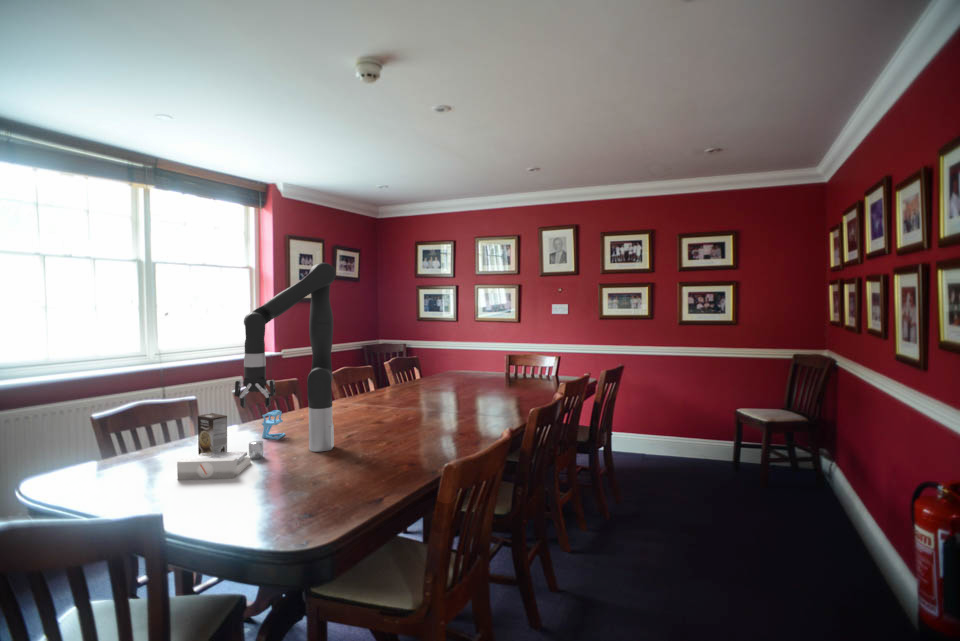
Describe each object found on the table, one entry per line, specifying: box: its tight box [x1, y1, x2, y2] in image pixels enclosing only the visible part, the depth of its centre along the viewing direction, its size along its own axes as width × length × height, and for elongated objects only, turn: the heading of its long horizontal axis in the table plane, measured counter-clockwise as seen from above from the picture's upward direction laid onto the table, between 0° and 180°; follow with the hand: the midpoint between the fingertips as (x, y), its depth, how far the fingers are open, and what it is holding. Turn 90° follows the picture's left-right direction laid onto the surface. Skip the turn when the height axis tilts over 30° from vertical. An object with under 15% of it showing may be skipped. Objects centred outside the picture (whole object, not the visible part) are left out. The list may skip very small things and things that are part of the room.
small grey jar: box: [248, 440, 264, 461], centre depth 190 cm, size 5×5×6 cm
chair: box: [261, 409, 286, 441], centre depth 220 cm, size 8×8×12 cm
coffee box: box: [197, 412, 228, 455], centre depth 191 cm, size 9×6×16 cm
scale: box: [176, 455, 252, 481], centre depth 175 cm, size 18×16×6 cm
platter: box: [192, 451, 248, 463], centre depth 177 cm, size 16×11×1 cm
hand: (255, 407), depth 190 cm, fingers open, 8 cm apart
